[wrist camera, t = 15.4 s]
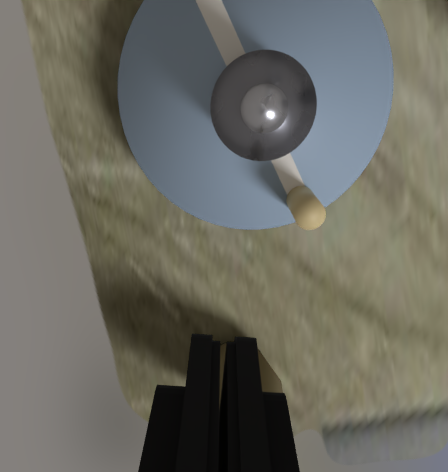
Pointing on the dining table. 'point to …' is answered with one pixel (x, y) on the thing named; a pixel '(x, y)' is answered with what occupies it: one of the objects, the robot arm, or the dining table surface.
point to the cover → (263, 105)
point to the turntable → (200, 91)
